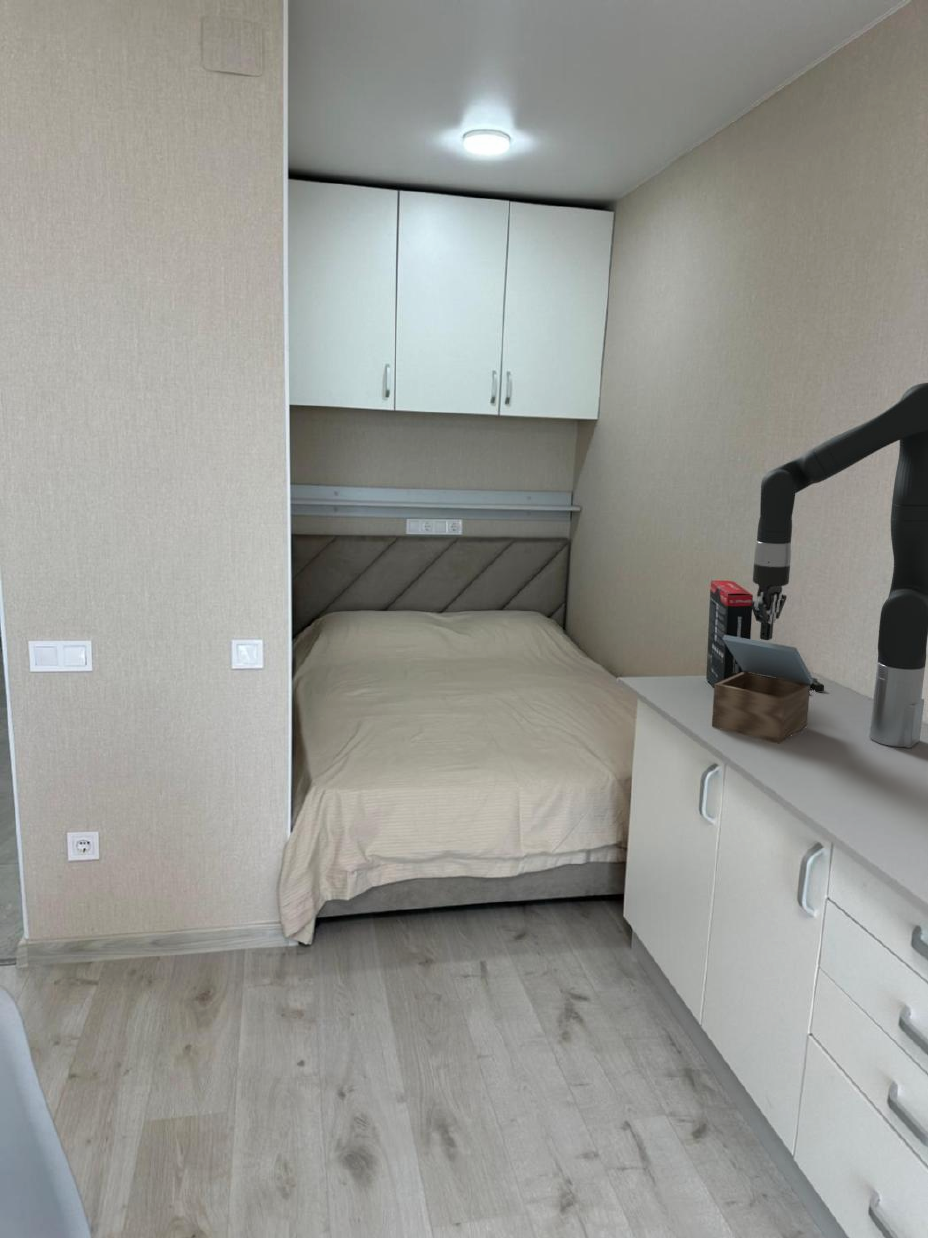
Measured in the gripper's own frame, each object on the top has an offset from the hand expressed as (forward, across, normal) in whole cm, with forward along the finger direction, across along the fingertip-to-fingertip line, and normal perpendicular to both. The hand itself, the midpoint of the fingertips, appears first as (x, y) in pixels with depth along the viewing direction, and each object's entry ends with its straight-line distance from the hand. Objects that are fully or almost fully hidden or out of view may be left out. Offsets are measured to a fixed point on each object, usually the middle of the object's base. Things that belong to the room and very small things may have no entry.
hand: (765, 639), depth 199 cm
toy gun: (+21, +33, +6) cm, 40 cm away
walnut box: (+20, 0, 0) cm, 21 cm away
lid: (+6, +1, 0) cm, 6 cm away
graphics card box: (+21, +20, +19) cm, 34 cm away
